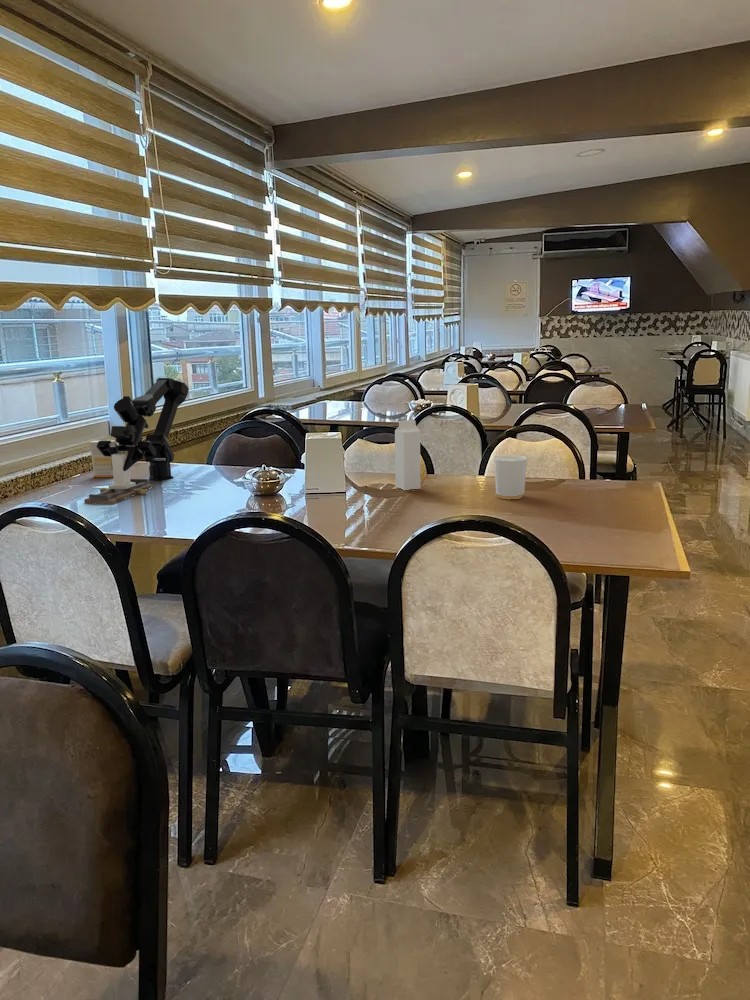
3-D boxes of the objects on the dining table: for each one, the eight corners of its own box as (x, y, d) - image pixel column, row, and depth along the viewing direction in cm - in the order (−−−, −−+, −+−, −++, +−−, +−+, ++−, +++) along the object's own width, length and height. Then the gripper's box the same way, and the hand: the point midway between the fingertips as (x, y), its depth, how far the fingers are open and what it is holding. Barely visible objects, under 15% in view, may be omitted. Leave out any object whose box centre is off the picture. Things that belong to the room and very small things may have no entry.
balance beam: (118, 486, 258) (118, 478, 258) (161, 487, 255) (161, 479, 254) (75, 503, 235) (74, 494, 234) (122, 504, 231) (121, 495, 230)
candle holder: (494, 493, 236) (494, 454, 234) (526, 493, 234) (527, 455, 232) (492, 500, 227) (493, 460, 224) (526, 501, 225) (527, 461, 222)
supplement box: (120, 475, 278) (117, 439, 275) (115, 477, 274) (111, 441, 271) (99, 475, 279) (95, 439, 276) (93, 477, 275) (89, 441, 272)
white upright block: (119, 487, 250) (116, 452, 247) (136, 488, 248) (132, 452, 246) (109, 491, 244) (105, 455, 241) (126, 492, 242) (122, 456, 240)
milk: (395, 488, 246) (394, 420, 241) (411, 486, 249) (410, 419, 244) (404, 491, 241) (403, 422, 236) (421, 489, 243) (420, 420, 238)
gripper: (96, 415, 246) (80, 455, 239) (148, 416, 242) (133, 456, 234) (112, 436, 256) (96, 474, 248) (162, 437, 252) (149, 476, 244)
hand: (118, 470), depth 243 cm, fingers closed on white upright block, 4 cm apart
